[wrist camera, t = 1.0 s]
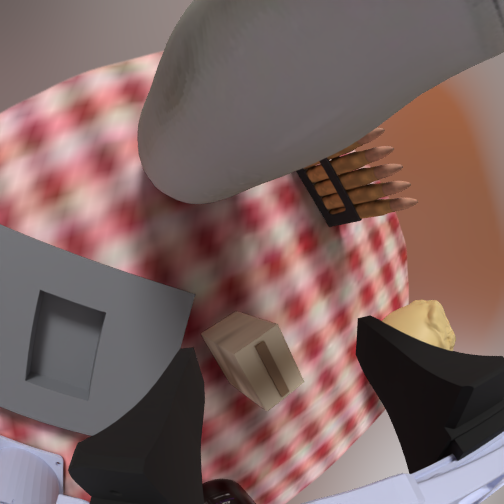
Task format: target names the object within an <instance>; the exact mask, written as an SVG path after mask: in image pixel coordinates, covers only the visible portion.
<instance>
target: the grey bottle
mask: <svg viewBox="0 0 504 504" xmlns="http://www.w3.org/2000/svg"><path fill="white" fill-rule="evenodd" d="M503 52H504V0H194V1H193V2H192V3H191V4H190V6H189V7H188V8H187V9H186V11H185V12H184V14H183V15H182V17H181V18H180V20H179V21H178V23H177V25H176V26H175V28H174V30H173V32H172V34H171V36H170V38H169V40H168V42H167V44H166V47H165V49H164V52H163V55H162V57H161V60H160V62H159V65H158V68H157V71H156V74H155V77H154V80H153V83H152V86H151V89H150V91H149V93H148V96H147V99H146V101H145V104H144V106H143V109H142V112H141V115H140V119H139V124H138V151H139V157H140V160H141V163H142V166H143V169H144V171H145V173H146V174H147V176H148V177H149V179H150V180H151V181H152V183H153V184H154V186H155V187H156V188H158V189H159V190H160V191H161V192H163V193H164V194H166V195H168V196H170V197H172V198H174V199H176V200H179V201H182V202H185V203H190V204H206V203H212V202H216V201H220V200H223V199H226V198H229V197H232V196H234V195H236V194H239V193H241V192H243V191H246V190H248V189H250V188H253V187H255V186H257V185H260V184H263V183H265V182H268V181H271V180H274V179H277V178H279V177H282V176H284V175H287V174H289V173H292V172H295V171H297V170H299V169H302V168H304V167H307V166H309V165H312V164H314V163H316V162H318V161H320V160H322V159H324V158H327V157H329V156H331V155H333V154H335V153H337V152H339V151H341V150H343V149H345V148H347V147H348V146H350V145H352V144H353V143H355V142H356V141H358V140H360V139H361V138H363V137H364V136H365V135H367V134H368V133H370V132H371V131H373V130H374V129H375V128H377V127H378V126H379V125H380V124H382V123H383V122H384V121H386V120H387V119H388V118H390V117H391V116H392V115H394V113H396V112H398V111H399V110H400V109H402V108H403V107H404V106H405V105H407V104H408V103H410V102H411V101H413V100H414V99H415V98H416V97H418V96H419V95H421V94H422V93H424V92H426V91H428V90H429V89H431V88H433V87H435V86H436V85H438V84H440V83H441V82H443V81H445V80H447V79H449V78H450V77H452V76H454V75H457V74H459V73H460V72H462V71H464V70H466V69H468V68H470V67H473V66H475V65H477V64H479V63H481V62H483V61H485V60H488V59H490V58H492V57H495V56H497V55H499V54H501V53H503Z"/></svg>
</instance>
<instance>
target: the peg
mask: <svg viewBox="0 0 504 504" xmlns="http://www.w3.org/2000/svg"><path fill="white" fill-rule="evenodd" d="M201 335H202V337H203V339H204V340H205V342H206V344H207V346H208V347H209V349H210V351H211V353H212V354H213V356H214V358H215V360H216V361H217V363H218V365H219V366H220V368H221V370H222V371H223V373H224V375H225V376H226V378H227V380H228V381H229V383H230V384H232V385H233V386H234V387H235V388H237V389H238V390H239V391H240V392H242V393H243V394H244V395H246V396H247V397H248V398H250V399H251V400H252V401H254V402H255V403H256V404H258V405H259V406H260V407H262V408H263V409H264V410H266V411H269V410H270V409H271V408H273V407H274V406H275V405H276V404H278V403H279V402H280V401H282V400H283V399H284V398H285V397H287V396H288V395H289V394H290V393H292V392H293V391H294V390H295V389H296V388H298V387H299V386H300V385H301V384H302V383H304V380H303V378H302V376H301V374H300V371H299V369H298V367H297V365H296V363H295V361H294V358H293V356H292V354H291V352H290V350H289V348H288V345H287V343H286V341H285V339H284V337H283V335H282V332H281V330H280V328H279V326H278V324H276V323H273V322H269V321H266V320H263V319H260V318H256V317H253V316H250V315H247V314H244V313H241V312H237V311H236V312H234V313H232V314H231V315H229V316H228V317H226V318H225V319H223V320H221V321H220V322H218V323H217V324H215V325H213V326H212V327H210V328H209V329H207V330H205V331H204V332H202V333H201Z"/></svg>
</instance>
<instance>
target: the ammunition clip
mask: <svg viewBox="0 0 504 504" xmlns="http://www.w3.org/2000/svg"><path fill="white" fill-rule="evenodd" d="M383 132H384V129H383V128H375V129H374V130H373V131H371V132H370V133H368V134H367V135H365V136H364V137H363V138H361V139H360V140H358V141H356V142H355V143H353V144H352V145H350V146H348V147H347V148H345V149H343V150H341V151H339V152H337V153H335V154H333V155H331V156H329V157H327V158H324V159H322V160H320V161H318V162H316V163H314V164H312V165H309V166H307V167H304V168H302V169H299V170H297V171H296V172H297V173H298V175H299V177H300V178H301V180H302V182H303V183H304V185H305V186H306V188H307V190H308V192H309V193H310V195H311V197H312V198H313V200H314V202H315V203H316V205H317V207H318V209H319V210H320V212H321V214H322V216H323V217H324V219H325V221H326V223H327V224H328V226H329V227H332V226H337V225H342V224H347V223H352V222H357V221H361V220H362V218H369V217H375V216H382V215H385V214H387V213H391V212H395V211H399V210H404V209H407V208H409V207H412V206H414V205H415V204H416V203H418V201H417V200H416V199H413V198H396V199H386V200H385V199H379V198H381V197H385V196H388V195H392V194H396V193H398V192H401V191H403V190H405V189H407V188H408V187H409V186H410V185H411V184H410V183H409V182H405V181H393V182H387V183H380V184H370V183H371V182H373V181H376V180H379V179H382V178H385V177H388V176H391V175H393V174H395V173H397V172H398V171H400V170H401V169H402V168H403V166H402V165H399V164H385V165H380V166H375V167H371V168H361V167H363V166H364V165H367V164H369V163H371V162H374V161H377V160H379V159H382V158H384V157H386V156H387V155H389V154H390V153H391V152H392V151H393V150H394V148H393V147H390V146H382V147H375V148H372V149H368V150H364V151H360V152H353V153H350V154H347V155H344V156H342V157H339V156H341V155H343V154H346V153H348V152H351V151H353V150H354V149H356V148H357V147H359V146H362V145H363V144H366V143H369V142H371V141H372V140H374V139H376V138H378V137H379V136H380V135H381V134H382V133H383ZM330 159H332V160H330ZM329 160H330V161H329ZM320 163H321V164H320ZM317 164H320V165H317ZM315 165H317V166H315ZM359 168H361V169H359ZM356 169H358V170H356ZM353 170H354V171H353ZM350 171H351V172H350ZM337 175H338V176H337ZM367 184H368V185H367Z"/></svg>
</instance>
